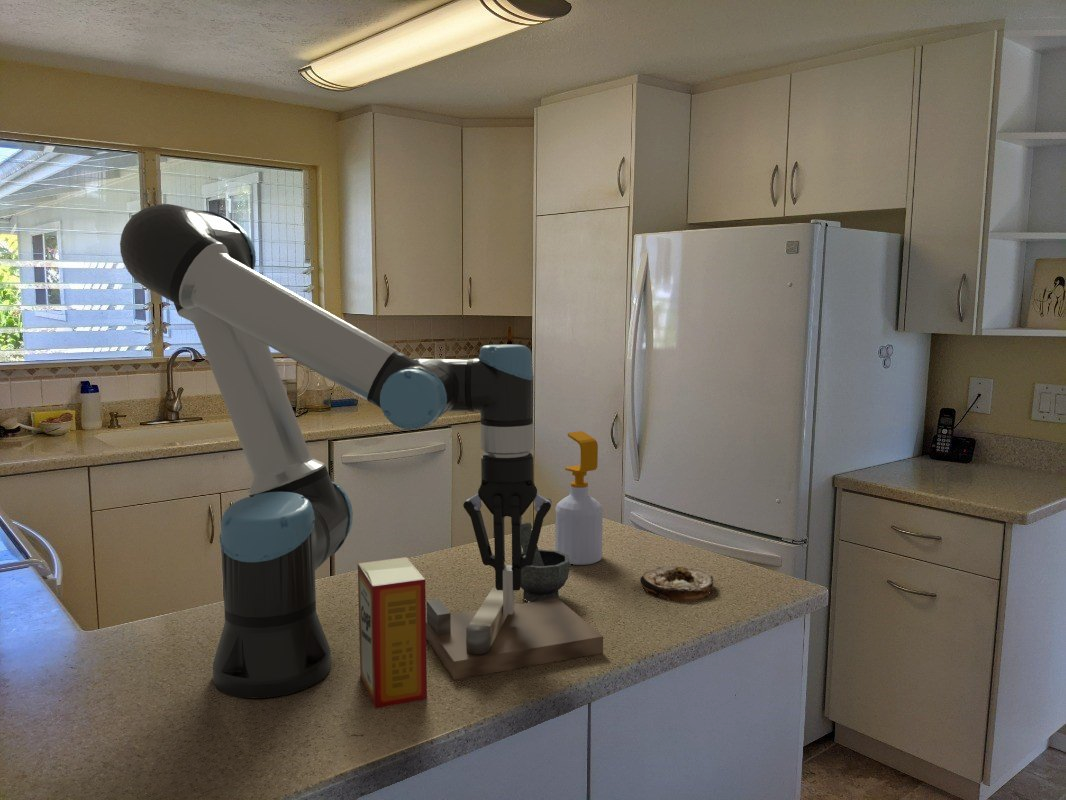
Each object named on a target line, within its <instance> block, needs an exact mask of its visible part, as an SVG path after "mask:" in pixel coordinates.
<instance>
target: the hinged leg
mask: <svg viewBox="0 0 1066 800" xmlns="http://www.w3.org/2000/svg"><path fill="white" fill-rule="evenodd" d="M477 610H478V611H477V613H476V615H475V616H474V618H473V619H472V621H471V622H470V624H469V626H467V628H466V651H467V652H468V653H471V654H484V653H487V652H489V650H490V647H491V645H492V644H493V642H494V640H495V638H496V636H497V634H498V632H499V630H500V629H501V627H502V625H503V623H504V621H505V619H506V617H507V616H508V614H503V590H497V589H496V587H495V586H493V587H492V588H491V590H490V591H489V593H488V595H486V597H485V599H484V601H483V602H482V604H481V606H480V607H479V609H477Z"/></svg>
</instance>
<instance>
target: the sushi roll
mask: <svg viewBox="0 0 1066 800" xmlns="http://www.w3.org/2000/svg"><path fill="white" fill-rule="evenodd" d="M640 583H641V588H642V587H643V589H644V590H643V589H642V590H643V591H646V592H647V591H648V592H647V593H648V594H649V593H650V595H652V594H653V595H652V596H654V595H656V596H654V597H653V598H655V597H659V596H661V597H660V598H663V597H665V598H664V599H666V600H669V601H673V600H675V601H679V600H680V601H679V602H682V601H683V600H684V601H683V602H686V601H685V600H689V601H695V600H700V599H703V598H702V597H704V596H705V597H709V598H711V596H710V594H711V593H709V592H710V589H711V588H712V587H713V586H714V577H713V575H710V574H709V573H707V572H706V571H704V570H703V571H702V570H700V569H696V568H695V569H694V568H690V567H686V566H683V567H682V566H675V565H666V566H660V567H659V566H658V567H656V568H653V569H651V570H647V571H646V572H644V573H643V575H642V576H641V577H640ZM711 590H712V589H711ZM705 597H704V598H705ZM667 598H669V599H667ZM699 598H700V599H699ZM694 599H695V600H694Z"/></svg>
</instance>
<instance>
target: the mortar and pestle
mask: <svg viewBox="0 0 1066 800" xmlns="http://www.w3.org/2000/svg"><path fill="white" fill-rule="evenodd" d="M532 528H533V525H532V523H531V522H523V523H522V522H521V529H522V556H524V555H526V553H527V549H528V545H529V541H530V536H531V532H532ZM569 562H570V561H569V555H566V554H564V553H561V552H559V551H555V550H551V549H542V548H541V549H540V548H539V547H538V546H537V547H536V551H535V555H534V559H533V563H532V565H531V566H525V567H523V568H522V569H521V578H522V584H521V588H520V589H522V590H523V596H522V599H523V598H524V599H526V600H527V601H530V602H535V601H542V600H549V599H556V598H558V599H559V598H560V597H559V595H560V594H559V591H560V589H562V587H563V586H565V583H566V582H567V580H568V578H569V573H570V564H569ZM559 600H560V599H559Z"/></svg>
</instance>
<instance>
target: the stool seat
mask: <svg viewBox="0 0 1066 800" xmlns="http://www.w3.org/2000/svg"><path fill="white" fill-rule="evenodd" d="M478 610H479V609H475V610H467V611H462V612H455V613H451V612H450V611H449V609H448V608H447V607H446V605H444V603H443V602H442V600H441V599H440V598H437V599H429V600H426V641H427V642H428V643H429V642H430V643H429V644H430V646H431V645H432V646H431V647H432V649H433V648H434V649H433V651H434V652H435V653H436V654H437V656H438V658H439V659H440V660H441V662H442V664H443V665H444V667H445V668H446V669H447V671H448V672H449V674H450V676H451V677H452V678H453V680H460V679H465V678H471V677H476V676H482V675H488V674H493V673H498V672H504V671H510V670H515V669H521V668H527V667H532V665H533V666H538V664H539V665H543V664H545V665H546V664H549V663H555V662H554V661H556V662H561V660H562V661H566V660H572V658H573V659H577V658H583V656H584V657H589V656H593V655H599V654H600V653H601V654H604V635H602V634H601V633H600V632H599V631H597V629H595V628H594V627H593V626H591V625H590V624H589V623H588V622H587V621H585V620H584V619H583V618H582V617H581V616H579V614H577V613H576V612H575V611H574V610H572V609H571V608H570V607H569V606H568V605H566V604H565V603H564V602H563V601H562V600H561V599H558V598H556V599H549V600H542V601H535V602H529V603H528V602H522V603H516V604H515V603H514V611H513V614H508V616H507V617H506V619H505V621H504V623H503V625H502V627H501V629H500V630H499V632H498V634H497V636H496V638H495V640H494V642H493V644H492V645H491V647H490V650H489V652H487V653H484V654H471V653H468V652H467V651H466V628H467V626H469V624H470V622H471V621H472V619H473V618H474V616H475V615H476V613H477V611H478Z"/></svg>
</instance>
